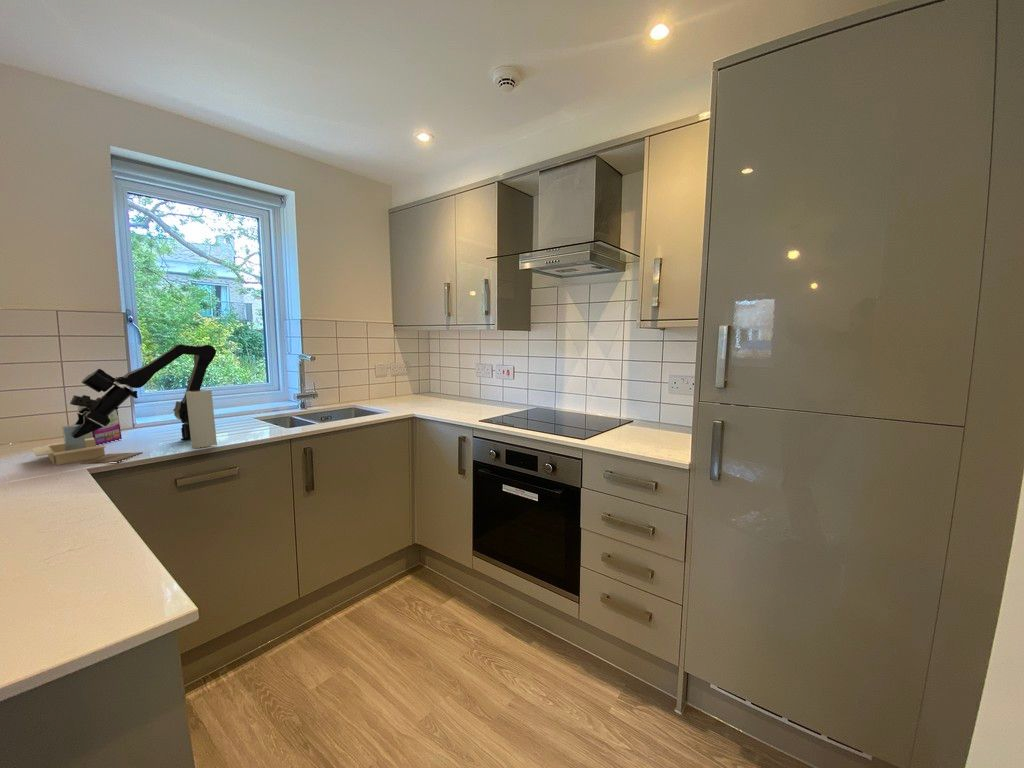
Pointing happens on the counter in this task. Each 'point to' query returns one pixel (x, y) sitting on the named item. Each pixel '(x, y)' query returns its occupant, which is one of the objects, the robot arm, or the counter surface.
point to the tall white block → (201, 418)
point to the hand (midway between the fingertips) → (72, 435)
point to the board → (111, 458)
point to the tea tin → (72, 438)
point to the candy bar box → (106, 430)
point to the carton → (70, 452)
